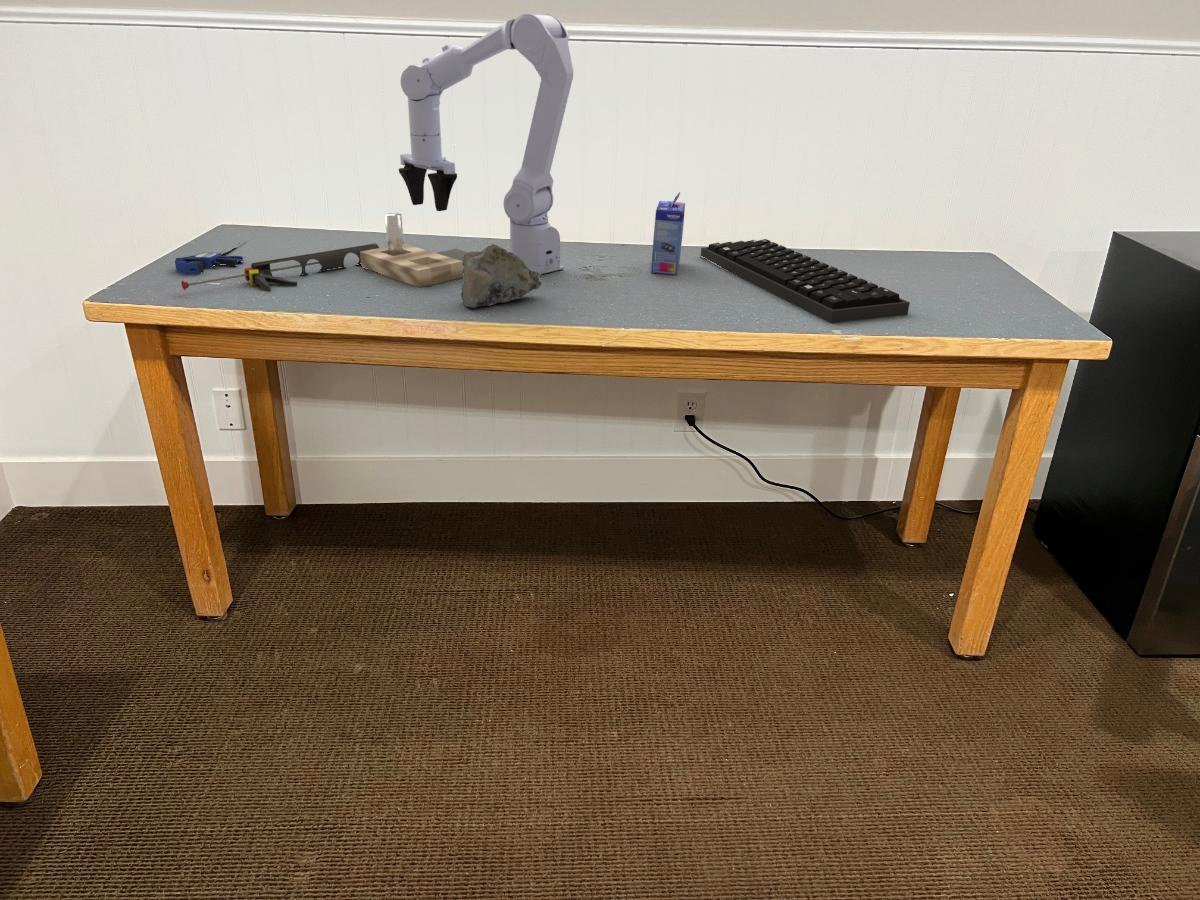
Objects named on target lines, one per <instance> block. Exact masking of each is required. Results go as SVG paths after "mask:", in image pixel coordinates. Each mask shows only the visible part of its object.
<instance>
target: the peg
mask: <svg viewBox="0 0 1200 900" xmlns="http://www.w3.org/2000/svg"><path fill="white" fill-rule="evenodd" d="M384 218H385V219H384V220H385V233H386V241H387V242H386V243H387V247H388V255H391V256H396V255H402V254H404V244H405V243H404V241H405V240H404V232H403V231H404V229H403V218H402V213H400V212H388V213H387V212H386V213H385V214H384Z"/></svg>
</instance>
